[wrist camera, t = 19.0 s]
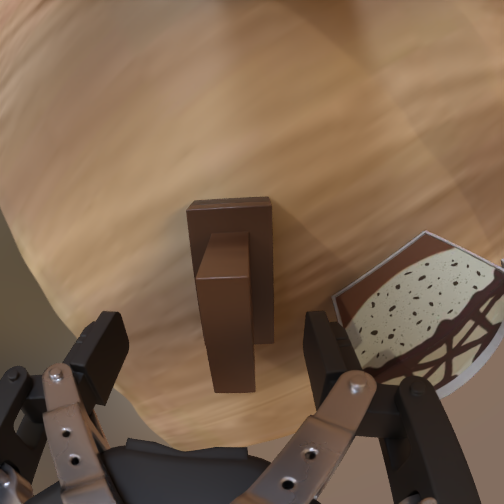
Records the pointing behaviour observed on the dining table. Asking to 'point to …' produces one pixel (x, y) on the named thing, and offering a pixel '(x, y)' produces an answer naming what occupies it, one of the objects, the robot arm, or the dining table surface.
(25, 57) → the dining table surface
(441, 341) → the food container
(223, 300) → the brown stepped block
